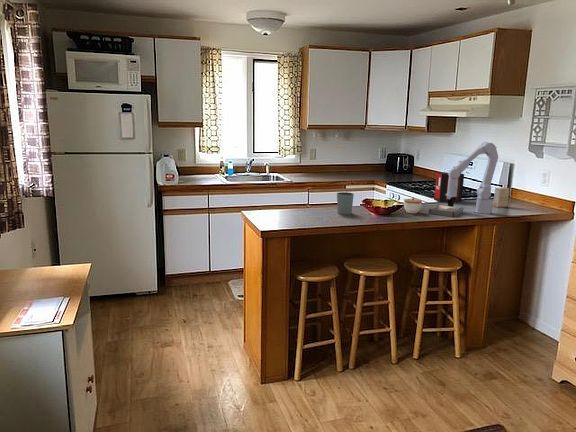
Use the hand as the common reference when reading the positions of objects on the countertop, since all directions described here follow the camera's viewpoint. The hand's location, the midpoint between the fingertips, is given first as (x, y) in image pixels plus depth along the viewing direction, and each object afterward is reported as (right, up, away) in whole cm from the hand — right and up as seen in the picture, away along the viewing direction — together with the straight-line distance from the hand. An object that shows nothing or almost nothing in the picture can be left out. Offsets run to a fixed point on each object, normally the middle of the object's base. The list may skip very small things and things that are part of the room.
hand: (450, 208), depth 306 cm
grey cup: (-70, -3, -17) cm, 72 cm away
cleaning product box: (+11, +6, +38) cm, 40 cm away
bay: (-5, -3, -6) cm, 8 cm away
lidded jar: (-27, -3, -8) cm, 28 cm away
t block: (-6, -3, -9) cm, 11 cm away
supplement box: (+41, +2, +21) cm, 46 cm away
